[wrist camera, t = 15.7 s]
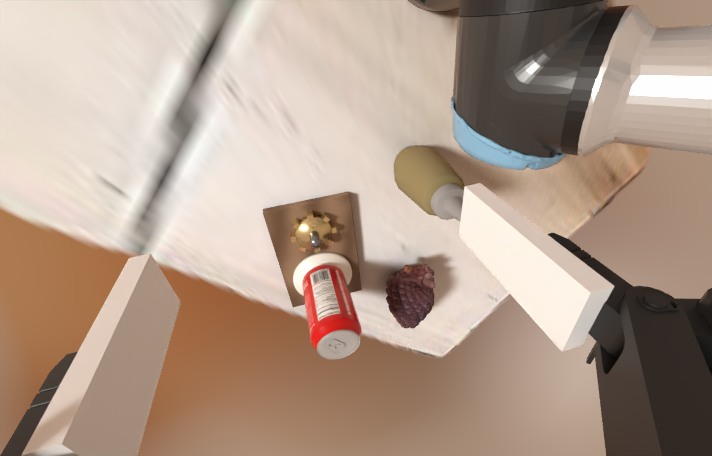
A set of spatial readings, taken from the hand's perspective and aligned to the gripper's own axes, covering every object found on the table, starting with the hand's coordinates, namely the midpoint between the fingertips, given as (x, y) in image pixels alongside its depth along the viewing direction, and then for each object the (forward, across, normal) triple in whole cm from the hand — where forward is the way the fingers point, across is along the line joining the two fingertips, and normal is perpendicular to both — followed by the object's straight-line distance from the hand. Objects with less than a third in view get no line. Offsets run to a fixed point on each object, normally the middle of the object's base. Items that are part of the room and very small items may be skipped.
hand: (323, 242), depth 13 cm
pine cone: (+35, +16, -41) cm, 56 cm away
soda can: (+33, 0, -32) cm, 46 cm away
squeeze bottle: (+35, +18, -14) cm, 42 cm away
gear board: (+35, 0, -28) cm, 45 cm away
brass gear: (+33, 0, -22) cm, 40 cm away
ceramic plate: (+33, 0, -32) cm, 46 cm away
